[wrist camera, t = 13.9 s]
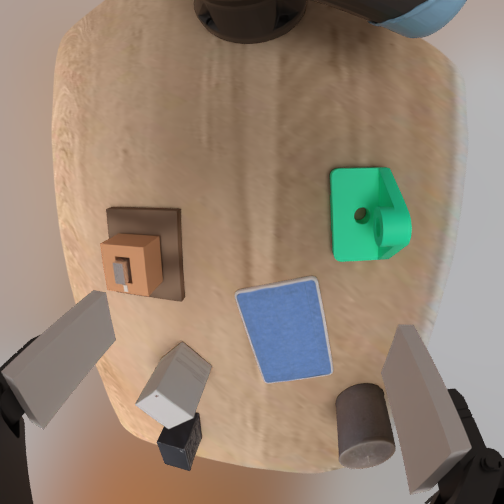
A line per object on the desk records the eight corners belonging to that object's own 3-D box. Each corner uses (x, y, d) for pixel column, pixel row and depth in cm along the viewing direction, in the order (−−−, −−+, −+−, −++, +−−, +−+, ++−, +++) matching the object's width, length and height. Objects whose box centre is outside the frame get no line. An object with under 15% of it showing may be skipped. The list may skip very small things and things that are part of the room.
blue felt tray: (333, 370, 47) (334, 375, 46) (264, 380, 50) (263, 385, 49) (316, 272, 42) (317, 276, 40) (233, 288, 44) (231, 292, 43)
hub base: (111, 207, 42) (78, 220, 34) (180, 208, 41) (154, 223, 33) (121, 287, 47) (94, 312, 39) (184, 297, 45) (164, 326, 38)
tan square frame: (118, 233, 41) (99, 244, 36) (159, 236, 40) (142, 248, 35) (123, 276, 43) (106, 290, 39) (162, 281, 43) (148, 297, 38)
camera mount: (328, 167, 36) (340, 174, 27) (383, 166, 35) (412, 173, 25) (331, 255, 40) (341, 288, 31) (383, 252, 39) (407, 283, 29)
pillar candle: (392, 386, 47) (408, 447, 33) (369, 417, 50) (378, 475, 36) (347, 379, 47) (355, 445, 33) (327, 411, 51) (328, 473, 37)
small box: (171, 406, 56) (154, 441, 46) (199, 412, 55) (185, 449, 46) (176, 431, 60) (163, 464, 50) (202, 437, 59) (191, 471, 49)
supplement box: (160, 357, 51) (132, 404, 39) (183, 340, 49) (155, 389, 37) (189, 381, 52) (168, 430, 40) (213, 366, 50) (194, 418, 38)
